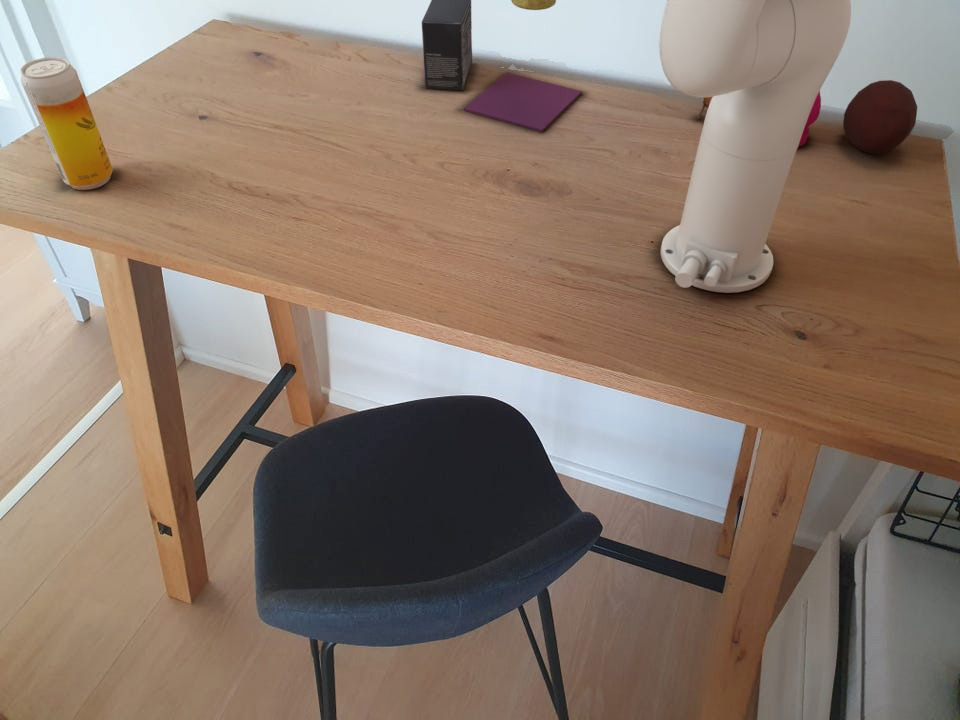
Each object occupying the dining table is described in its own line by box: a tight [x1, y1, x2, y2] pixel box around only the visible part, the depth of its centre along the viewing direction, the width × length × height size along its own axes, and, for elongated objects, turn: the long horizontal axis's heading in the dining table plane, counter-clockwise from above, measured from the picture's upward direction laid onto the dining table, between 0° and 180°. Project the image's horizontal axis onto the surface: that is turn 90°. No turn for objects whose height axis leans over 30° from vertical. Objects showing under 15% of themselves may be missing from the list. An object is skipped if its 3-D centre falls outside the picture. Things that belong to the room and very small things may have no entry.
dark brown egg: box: [842, 79, 918, 155], centre depth 104 cm, size 9×12×9 cm
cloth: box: [463, 72, 583, 133], centre depth 116 cm, size 14×13×1 cm
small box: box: [421, 0, 473, 92], centre depth 119 cm, size 11×6×10 cm, turn 173°
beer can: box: [20, 56, 114, 191], centre depth 94 cm, size 6×6×15 cm
